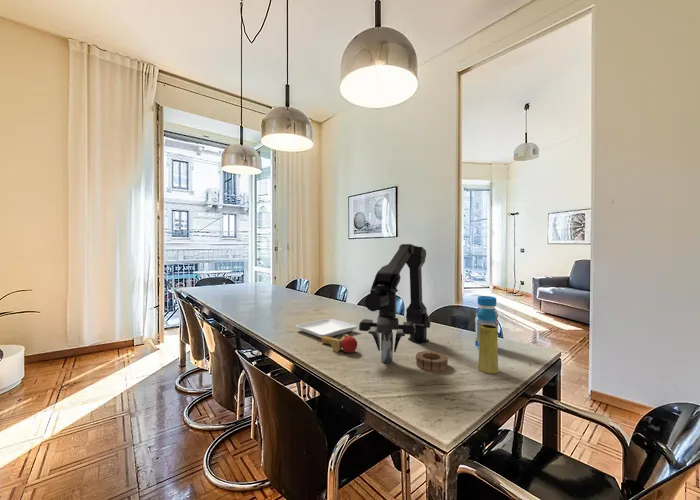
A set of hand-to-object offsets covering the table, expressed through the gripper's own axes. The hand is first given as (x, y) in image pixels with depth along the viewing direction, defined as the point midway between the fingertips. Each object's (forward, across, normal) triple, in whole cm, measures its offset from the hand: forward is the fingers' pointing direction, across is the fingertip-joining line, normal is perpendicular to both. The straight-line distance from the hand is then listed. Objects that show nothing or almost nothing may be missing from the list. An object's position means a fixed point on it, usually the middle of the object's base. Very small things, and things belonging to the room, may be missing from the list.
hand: (387, 351), depth 104 cm
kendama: (+4, -20, +9) cm, 22 cm away
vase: (+4, +32, +1) cm, 33 cm away
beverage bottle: (+4, +36, +25) cm, 44 cm away
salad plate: (+4, -32, +29) cm, 43 cm away
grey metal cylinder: (+4, 0, 0) cm, 4 cm away
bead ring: (+4, +15, +1) cm, 15 cm away
